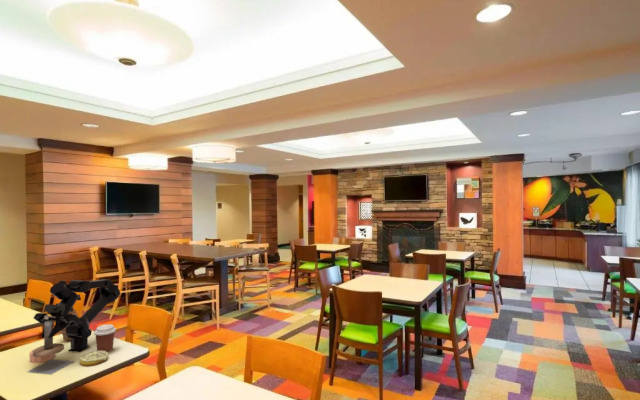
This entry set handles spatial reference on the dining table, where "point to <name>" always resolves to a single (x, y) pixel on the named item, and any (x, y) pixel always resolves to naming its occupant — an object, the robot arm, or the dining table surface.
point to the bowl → (39, 358)
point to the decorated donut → (93, 358)
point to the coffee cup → (105, 337)
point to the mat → (50, 366)
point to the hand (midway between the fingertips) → (45, 337)
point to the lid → (48, 343)
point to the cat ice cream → (65, 328)
